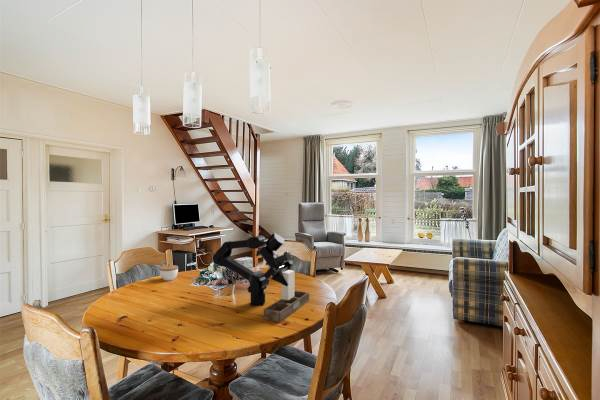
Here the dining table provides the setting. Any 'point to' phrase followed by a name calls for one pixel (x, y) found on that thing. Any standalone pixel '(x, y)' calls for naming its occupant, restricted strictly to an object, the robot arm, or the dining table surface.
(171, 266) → the white round bowl
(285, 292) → the white rectangular block
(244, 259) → the light bulb box
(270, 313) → the tray
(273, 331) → the dining table surface
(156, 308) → the dining table surface
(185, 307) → the dining table surface
